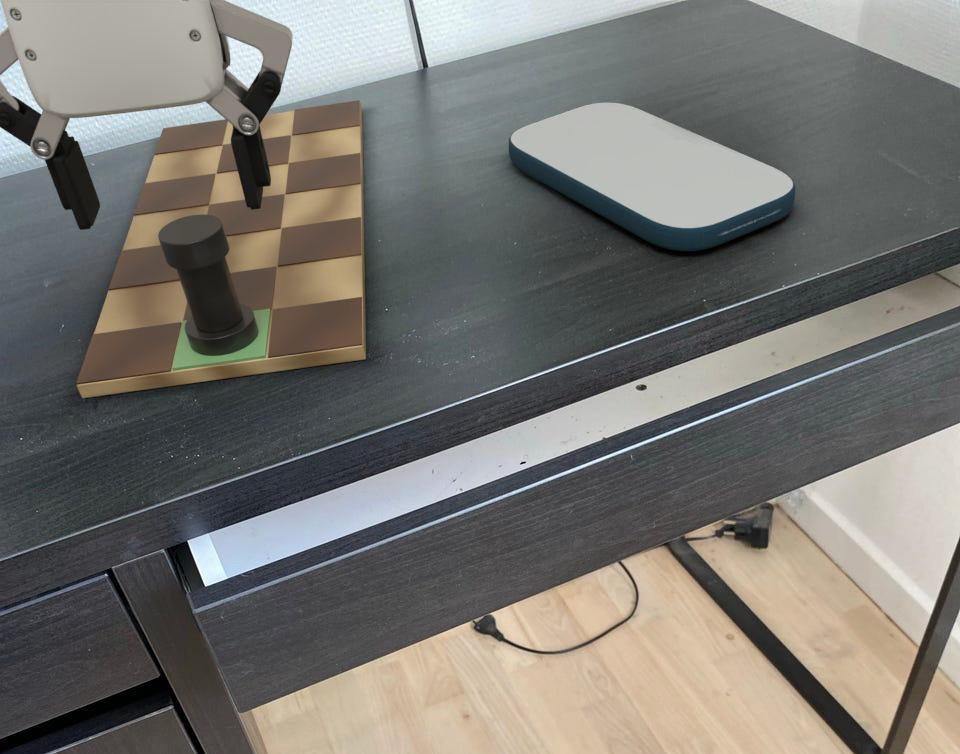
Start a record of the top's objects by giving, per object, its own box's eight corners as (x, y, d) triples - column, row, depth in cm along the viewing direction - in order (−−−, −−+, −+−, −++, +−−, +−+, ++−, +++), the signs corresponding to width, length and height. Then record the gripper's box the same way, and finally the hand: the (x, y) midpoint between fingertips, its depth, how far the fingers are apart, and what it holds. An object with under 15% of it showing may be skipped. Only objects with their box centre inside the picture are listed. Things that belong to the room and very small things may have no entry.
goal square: (173, 370, 63) (172, 368, 63) (183, 323, 67) (182, 320, 67) (265, 358, 63) (264, 355, 63) (270, 311, 67) (270, 308, 67)
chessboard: (82, 399, 64) (75, 383, 63) (166, 140, 93) (162, 128, 92) (366, 359, 64) (363, 343, 63) (362, 112, 92) (360, 99, 92)
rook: (186, 360, 63) (147, 251, 58) (194, 324, 66) (157, 217, 61) (256, 350, 63) (223, 240, 58) (260, 315, 66) (230, 207, 61)
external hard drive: (494, 162, 82) (491, 136, 80) (611, 120, 85) (610, 95, 84) (680, 268, 67) (682, 239, 66) (813, 213, 71) (817, 184, 69)
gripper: (254, -197, 49) (323, 165, 62) (-103, -155, 49) (38, 198, 62) (243, -168, 44) (320, 220, 56) (-156, -121, 44) (10, 257, 56)
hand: (173, 209), depth 59 cm, fingers open, 9 cm apart
